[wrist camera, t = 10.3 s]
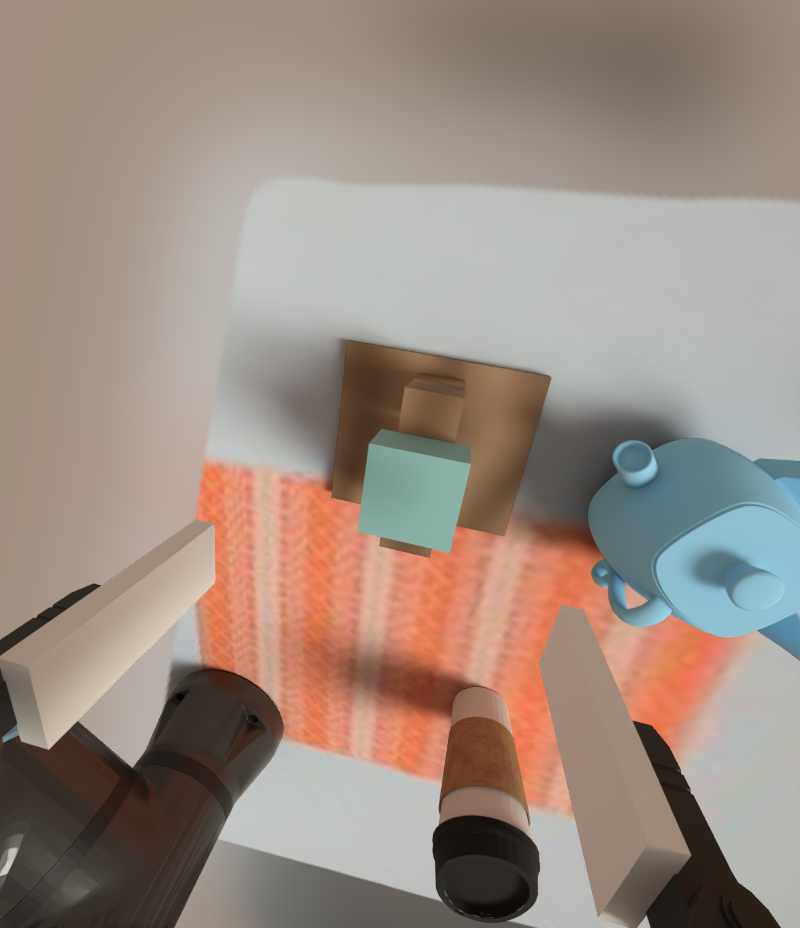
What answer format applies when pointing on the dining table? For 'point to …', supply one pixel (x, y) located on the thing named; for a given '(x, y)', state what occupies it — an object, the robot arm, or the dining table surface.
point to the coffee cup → (484, 816)
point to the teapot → (702, 539)
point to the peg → (413, 489)
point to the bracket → (440, 424)
